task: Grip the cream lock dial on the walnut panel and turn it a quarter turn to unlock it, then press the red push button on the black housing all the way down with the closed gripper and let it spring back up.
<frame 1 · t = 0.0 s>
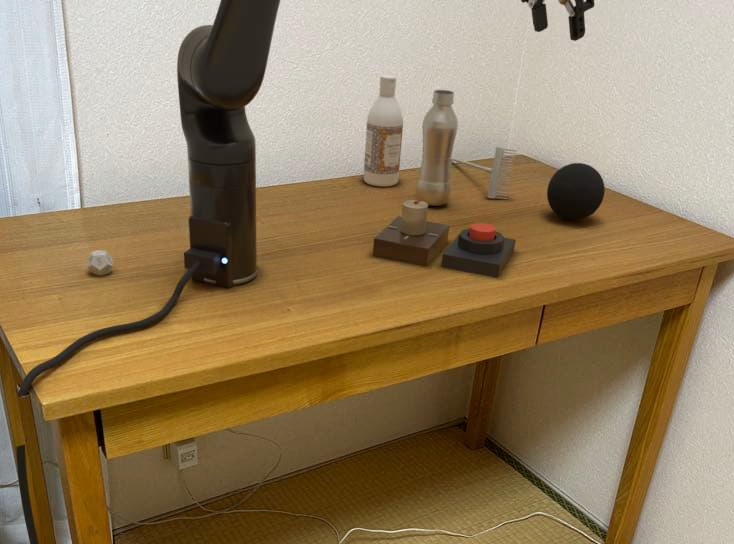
hand: (559, 34, 129), 31 cm above the table, tool tilted 20°, fingers open, 8 cm apart
dial panel: (411, 249, 133), on the table
speaker: (569, 219, 150), on the table
lock dial: (414, 216, 130), point 5 cm above the table, hinge at 0.0°
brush: (473, 180, 169), on the table
bath foam: (380, 183, 164), on the table
plastic bottle: (431, 205, 154), on the table
game die: (101, 273, 119), on the table
red push button: (482, 232, 129), point 4 cm above the table, slide at 0.1 cm
button housing: (478, 259, 131), on the table
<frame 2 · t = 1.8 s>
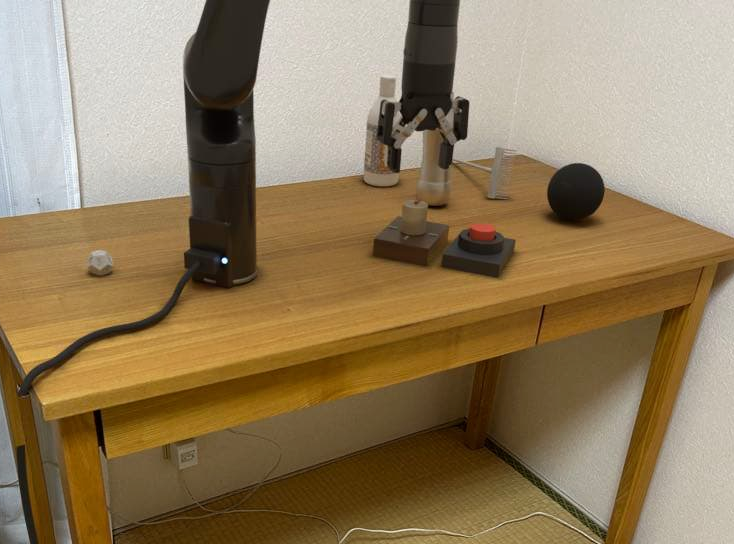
hand: (419, 169, 126), 13 cm above the table, tool pointing down, fingers open, 8 cm apart
nothing on the table moved.
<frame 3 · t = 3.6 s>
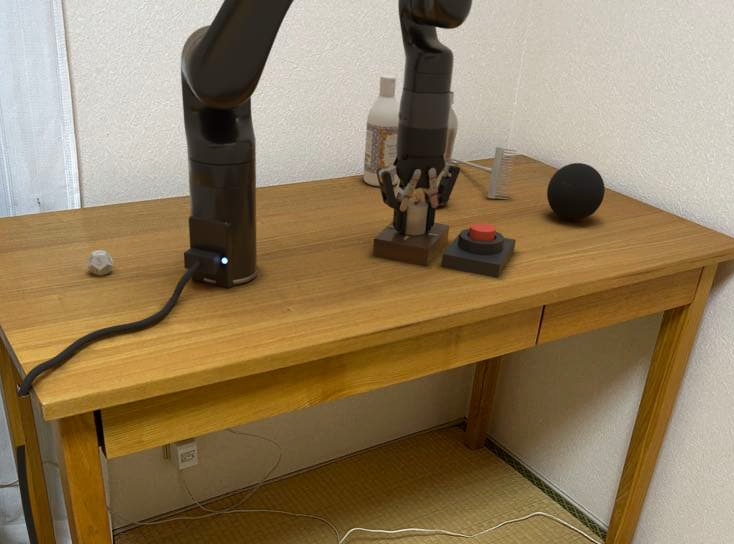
hand: (413, 230, 132), 3 cm above the table, tool pointing down, fingers closed on lock dial, 4 cm apart
lock dial: (414, 216, 130), point 5 cm above the table, hinge at 0.1°, touching gripper
everything else where it was.
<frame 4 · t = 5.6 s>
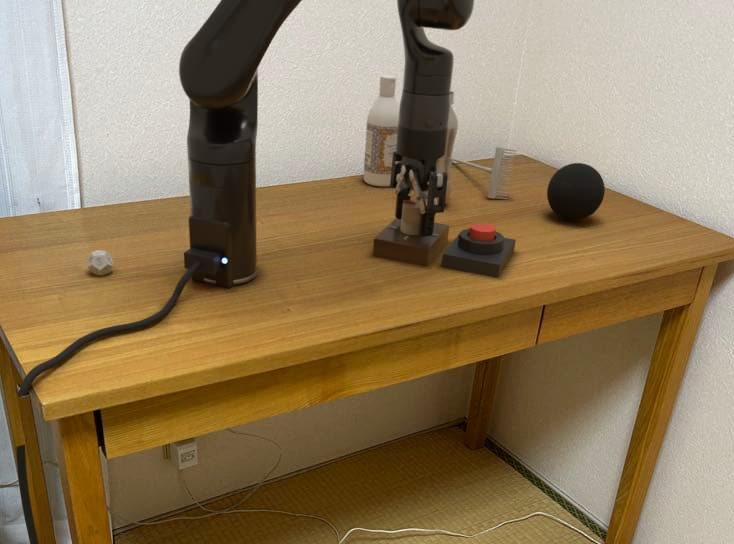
hand: (413, 226, 131), 4 cm above the table, tool pointing down, fingers open, 8 cm apart
lock dial: (414, 216, 130), point 5 cm above the table, hinge at 92.5°
everything else where it was.
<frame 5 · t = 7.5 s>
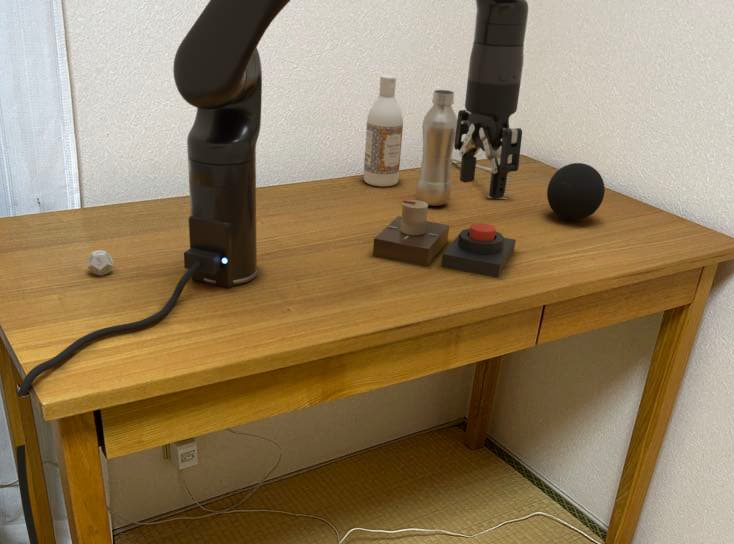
hand: (480, 189, 125), 11 cm above the table, tool pointing down, fingers open, 8 cm apart
nothing on the table moved.
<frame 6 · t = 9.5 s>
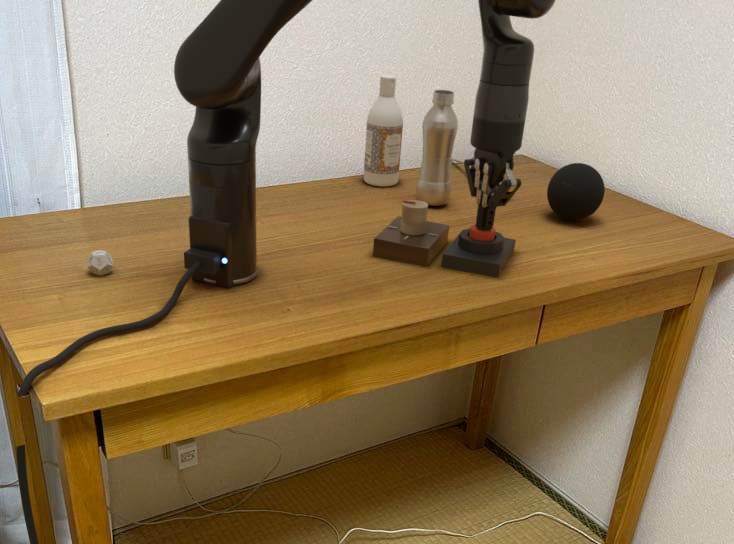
hand: (483, 228, 128), 5 cm above the table, tool pointing down, fingers closed
red push button: (482, 233, 129), point 4 cm above the table, slide at -0.1 cm, touching gripper
everything else where it was.
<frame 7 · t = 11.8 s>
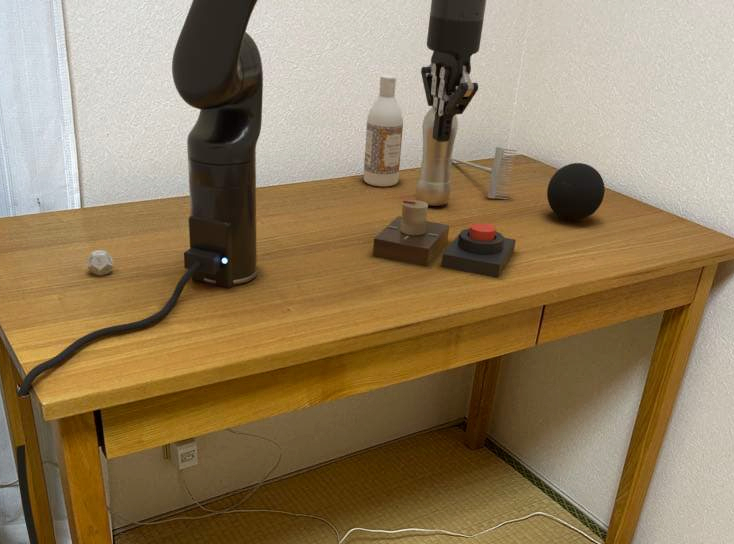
hand: (440, 140, 124), 18 cm above the table, tool pointing down, fingers closed
red push button: (482, 232, 129), point 4 cm above the table, slide at 0.1 cm
everything else where it was.
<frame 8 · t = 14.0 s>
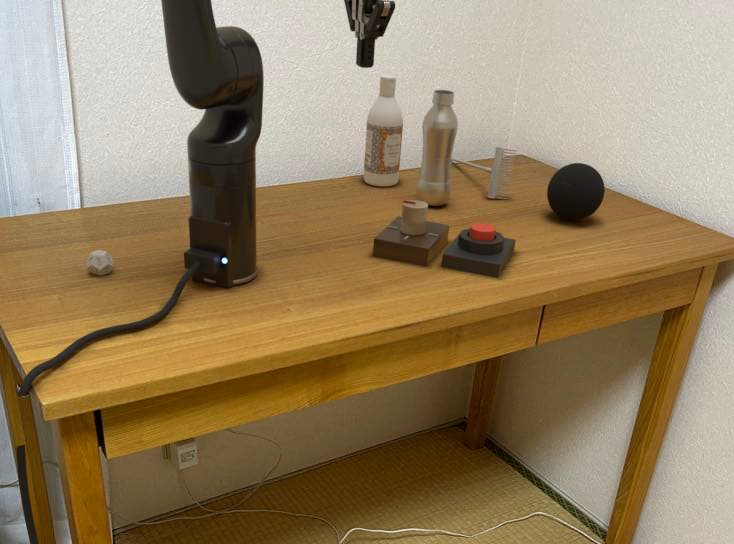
hand: (364, 66, 121), 27 cm above the table, tool pointing down, fingers closed
nothing on the table moved.
at the end: lock dial at +92° (first picture: +0°); red push button pushed in 1.1 cm at the most during the clip, back to where it started at the end; red push button slide at 0.1 cm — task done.
